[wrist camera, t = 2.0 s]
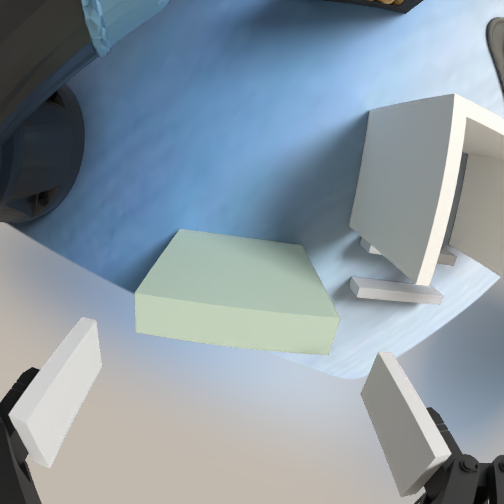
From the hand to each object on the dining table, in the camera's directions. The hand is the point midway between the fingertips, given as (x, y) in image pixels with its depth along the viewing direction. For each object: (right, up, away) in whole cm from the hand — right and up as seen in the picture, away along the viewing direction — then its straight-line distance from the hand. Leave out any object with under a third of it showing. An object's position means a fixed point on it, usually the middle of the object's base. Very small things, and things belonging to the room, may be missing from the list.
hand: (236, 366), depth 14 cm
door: (0, +5, +15) cm, 16 cm away
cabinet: (+16, +9, +14) cm, 24 cm away
